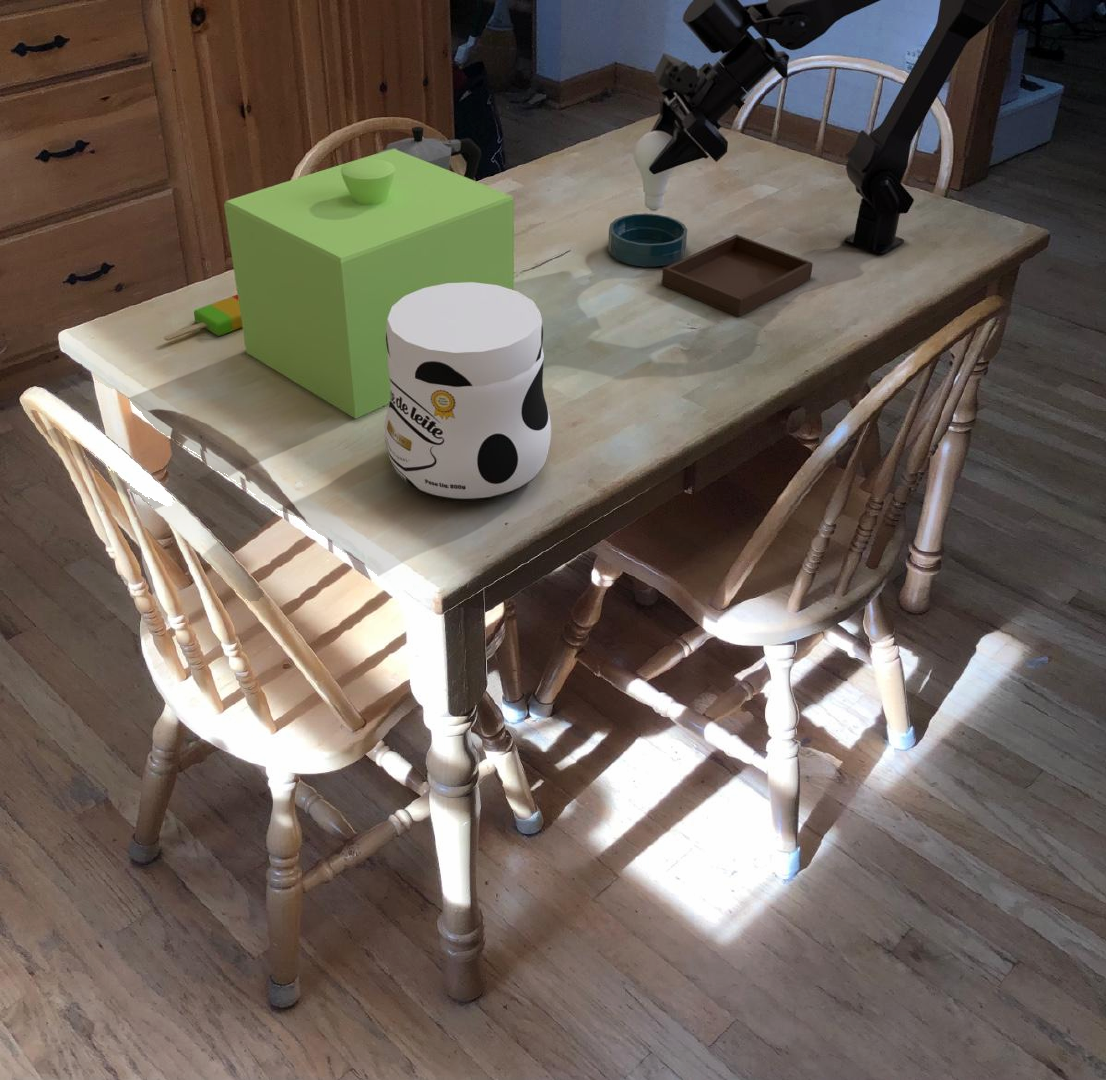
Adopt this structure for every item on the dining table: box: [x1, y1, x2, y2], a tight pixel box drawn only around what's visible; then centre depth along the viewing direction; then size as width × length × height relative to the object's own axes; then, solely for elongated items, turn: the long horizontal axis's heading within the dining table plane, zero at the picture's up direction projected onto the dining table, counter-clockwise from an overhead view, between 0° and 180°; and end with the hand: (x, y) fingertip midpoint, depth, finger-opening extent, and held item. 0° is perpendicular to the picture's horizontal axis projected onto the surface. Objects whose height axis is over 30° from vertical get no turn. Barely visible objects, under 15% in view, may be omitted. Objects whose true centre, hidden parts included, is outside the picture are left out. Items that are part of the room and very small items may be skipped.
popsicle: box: [163, 294, 243, 342], centre depth 155 cm, size 6×15×2 cm, turn 136°
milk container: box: [384, 282, 552, 502], centre depth 125 cm, size 17×17×18 cm
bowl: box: [607, 213, 688, 268], centre depth 174 cm, size 11×11×4 cm
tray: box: [661, 234, 814, 318], centre depth 167 cm, size 16×13×2 cm
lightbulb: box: [633, 131, 676, 212], centre depth 167 cm, size 6×6×11 cm
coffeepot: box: [376, 126, 482, 181], centre depth 168 cm, size 15×9×18 cm, turn 113°
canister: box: [223, 149, 515, 419], centre depth 144 cm, size 25×21×23 cm
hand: (646, 163), depth 166 cm, fingers closed on lightbulb, 6 cm apart
